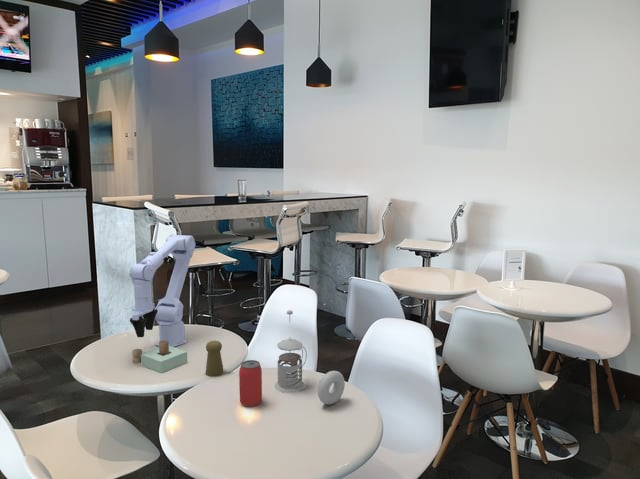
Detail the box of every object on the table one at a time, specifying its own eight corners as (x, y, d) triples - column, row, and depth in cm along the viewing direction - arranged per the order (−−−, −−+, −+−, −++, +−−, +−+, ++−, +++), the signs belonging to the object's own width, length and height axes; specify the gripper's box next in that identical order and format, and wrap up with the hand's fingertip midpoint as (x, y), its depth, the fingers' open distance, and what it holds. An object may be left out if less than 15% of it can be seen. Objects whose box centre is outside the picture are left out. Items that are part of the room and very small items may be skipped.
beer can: (265, 398, 141) (265, 361, 139) (255, 409, 134) (255, 369, 133) (246, 395, 143) (245, 358, 141) (235, 405, 137) (234, 366, 135)
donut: (323, 411, 133) (323, 378, 132) (315, 407, 136) (315, 374, 134) (347, 399, 140) (347, 368, 139) (338, 396, 143) (339, 364, 141)
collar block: (167, 355, 173) (167, 345, 173) (187, 362, 167) (186, 351, 166) (141, 365, 164) (141, 354, 164) (161, 373, 158) (160, 361, 157)
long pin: (165, 361, 168) (164, 339, 167) (171, 363, 166) (170, 341, 165) (157, 364, 165) (157, 342, 164) (163, 366, 163) (162, 344, 162)
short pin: (138, 358, 170) (138, 348, 169) (144, 360, 168) (143, 350, 168) (130, 361, 167) (130, 350, 167) (136, 363, 166) (135, 352, 165)
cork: (221, 376, 155) (220, 345, 154) (203, 376, 156) (202, 345, 154) (225, 369, 161) (224, 338, 160) (208, 369, 162) (207, 338, 160)
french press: (268, 386, 149) (267, 310, 145) (294, 374, 158) (294, 302, 154) (289, 396, 142) (289, 317, 139) (315, 383, 151) (315, 308, 147)
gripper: (140, 291, 175) (142, 326, 177) (122, 302, 160) (125, 340, 162) (159, 291, 174) (161, 326, 176) (142, 302, 160) (144, 340, 162)
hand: (145, 333), depth 169 cm, fingers open, 7 cm apart
